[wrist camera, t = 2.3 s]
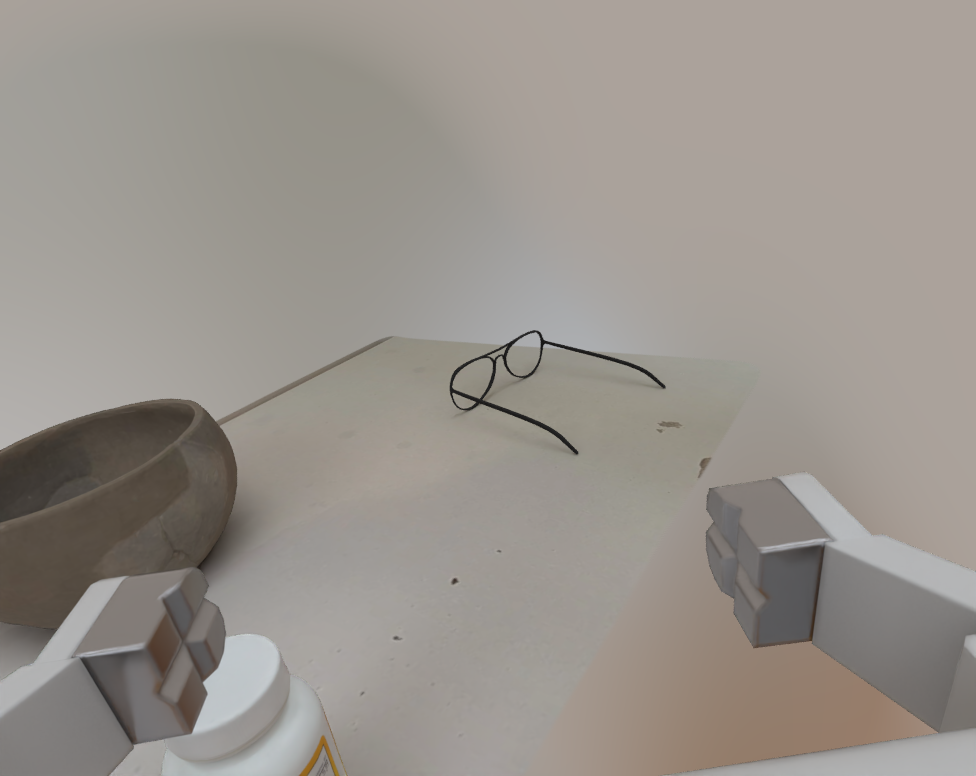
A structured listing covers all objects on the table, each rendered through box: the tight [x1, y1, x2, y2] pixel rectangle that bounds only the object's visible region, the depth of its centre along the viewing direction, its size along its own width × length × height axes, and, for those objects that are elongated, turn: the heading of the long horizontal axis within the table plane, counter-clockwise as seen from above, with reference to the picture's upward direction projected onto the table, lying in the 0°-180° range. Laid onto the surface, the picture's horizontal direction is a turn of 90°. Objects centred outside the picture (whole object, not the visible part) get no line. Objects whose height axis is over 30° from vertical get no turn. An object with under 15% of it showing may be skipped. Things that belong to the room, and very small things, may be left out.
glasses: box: [450, 330, 665, 454], centre depth 58 cm, size 14×15×5 cm
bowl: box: [0, 399, 237, 628], centre depth 42 cm, size 17×18×10 cm
